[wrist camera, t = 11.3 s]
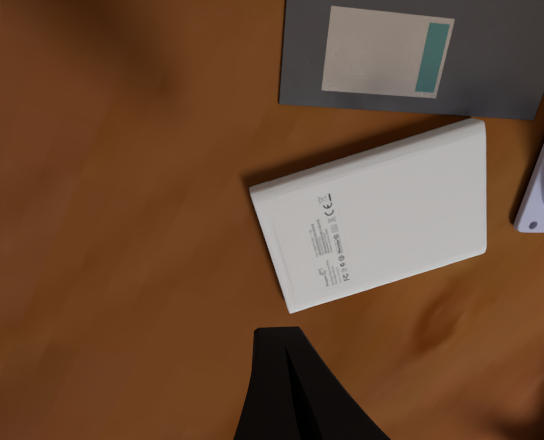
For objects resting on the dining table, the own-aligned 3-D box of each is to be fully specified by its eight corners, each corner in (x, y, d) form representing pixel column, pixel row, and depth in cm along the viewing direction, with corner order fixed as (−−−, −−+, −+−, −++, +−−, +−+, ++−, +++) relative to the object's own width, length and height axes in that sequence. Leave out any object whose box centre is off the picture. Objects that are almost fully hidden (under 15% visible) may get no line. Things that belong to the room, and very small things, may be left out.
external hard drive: (469, 242, 22) (285, 301, 22) (465, 116, 18) (247, 184, 18) (487, 255, 20) (290, 317, 20) (486, 120, 17) (249, 194, 17)
